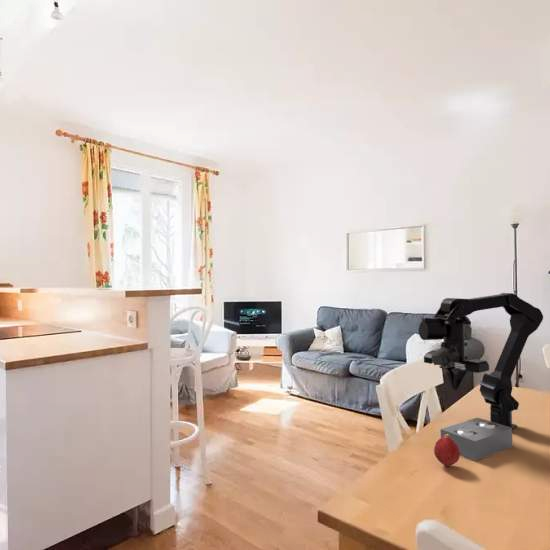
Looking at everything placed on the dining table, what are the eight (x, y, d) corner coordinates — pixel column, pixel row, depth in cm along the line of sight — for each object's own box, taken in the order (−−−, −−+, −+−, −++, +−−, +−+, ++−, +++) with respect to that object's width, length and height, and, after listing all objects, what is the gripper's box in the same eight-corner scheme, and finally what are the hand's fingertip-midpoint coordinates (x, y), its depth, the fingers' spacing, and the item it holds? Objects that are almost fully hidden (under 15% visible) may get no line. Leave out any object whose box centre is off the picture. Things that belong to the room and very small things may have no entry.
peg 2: (484, 437, 115) (484, 420, 115) (498, 441, 112) (497, 424, 112) (476, 440, 113) (475, 423, 113) (490, 444, 110) (489, 427, 110)
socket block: (477, 434, 118) (477, 417, 118) (512, 446, 110) (511, 427, 110) (440, 447, 110) (440, 429, 110) (475, 461, 101) (475, 441, 101)
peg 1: (463, 444, 110) (462, 427, 110) (477, 449, 106) (476, 432, 107) (454, 448, 108) (453, 430, 108) (468, 453, 104) (467, 435, 104)
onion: (433, 469, 97) (432, 436, 97) (435, 459, 102) (435, 428, 102) (459, 474, 94) (458, 440, 95) (460, 464, 100) (460, 431, 100)
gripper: (411, 337, 127) (412, 387, 127) (466, 345, 111) (467, 401, 111) (434, 335, 133) (435, 382, 132) (489, 341, 117) (490, 395, 117)
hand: (455, 390), depth 123 cm, fingers closed
